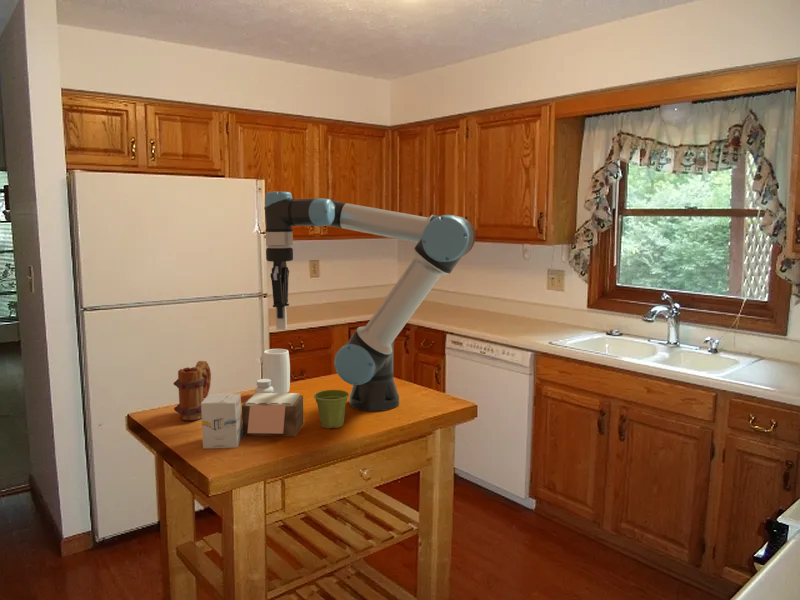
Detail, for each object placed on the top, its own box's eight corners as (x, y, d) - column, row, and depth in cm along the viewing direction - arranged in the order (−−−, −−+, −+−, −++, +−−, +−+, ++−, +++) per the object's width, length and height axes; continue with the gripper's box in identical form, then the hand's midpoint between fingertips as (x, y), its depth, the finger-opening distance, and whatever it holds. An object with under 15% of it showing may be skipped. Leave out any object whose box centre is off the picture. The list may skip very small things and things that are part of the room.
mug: (196, 424, 169) (194, 371, 167) (169, 422, 170) (166, 369, 168) (222, 408, 183) (220, 359, 181) (197, 407, 184) (194, 358, 182)
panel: (285, 406, 158) (284, 405, 157) (283, 433, 156) (282, 433, 155) (250, 405, 158) (250, 405, 158) (247, 433, 156) (247, 433, 155)
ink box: (209, 437, 159) (207, 393, 158) (243, 436, 160) (241, 392, 158) (201, 449, 151) (199, 402, 149) (237, 448, 151) (235, 402, 150)
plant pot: (335, 433, 162) (334, 401, 160) (307, 427, 167) (306, 395, 165) (356, 423, 169) (355, 392, 168) (329, 417, 174) (328, 387, 173)
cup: (287, 398, 193) (286, 354, 192) (261, 398, 193) (259, 354, 192) (292, 390, 202) (291, 348, 200) (267, 390, 202) (265, 348, 200)
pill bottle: (264, 409, 182) (263, 377, 181) (278, 411, 180) (277, 379, 179) (251, 414, 178) (250, 381, 176) (265, 417, 175) (264, 383, 174)
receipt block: (303, 423, 169) (302, 392, 168) (296, 436, 159) (295, 403, 158) (253, 423, 170) (252, 392, 169) (242, 435, 160) (241, 403, 159)
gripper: (271, 246, 181) (274, 325, 184) (260, 248, 168) (262, 333, 171) (297, 246, 181) (299, 325, 184) (287, 248, 168) (289, 333, 171)
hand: (281, 329), depth 177 cm, fingers closed
